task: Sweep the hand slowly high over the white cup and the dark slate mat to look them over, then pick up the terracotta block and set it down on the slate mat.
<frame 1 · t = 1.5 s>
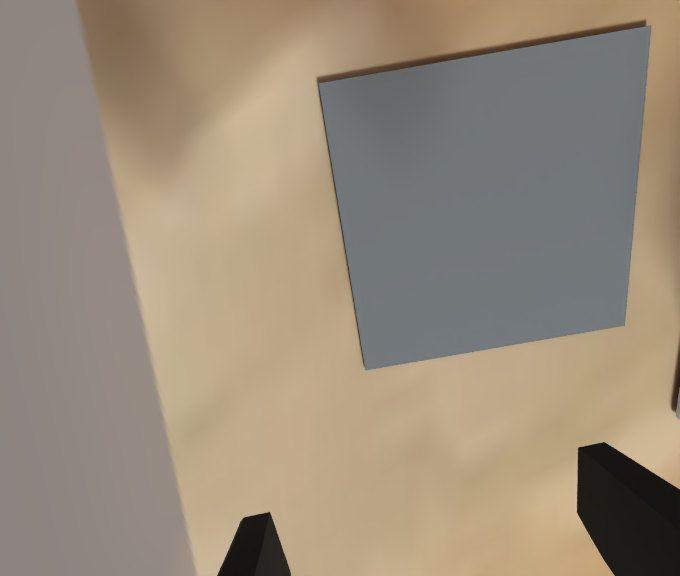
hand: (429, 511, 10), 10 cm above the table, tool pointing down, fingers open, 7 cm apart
slate mat: (488, 218, 17), on the table
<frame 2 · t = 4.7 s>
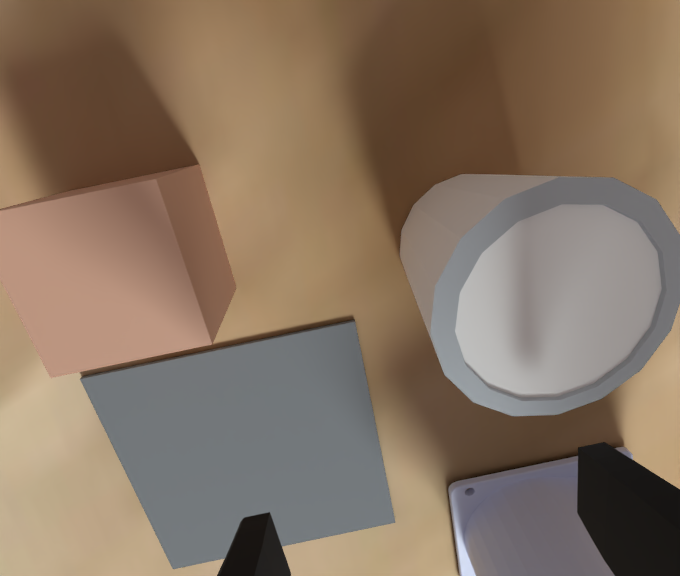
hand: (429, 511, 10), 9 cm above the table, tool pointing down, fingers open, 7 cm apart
terracotta block: (156, 241, 17), on the table
slate mat: (254, 455, 21), on the table
white cup: (464, 241, 18), on the table
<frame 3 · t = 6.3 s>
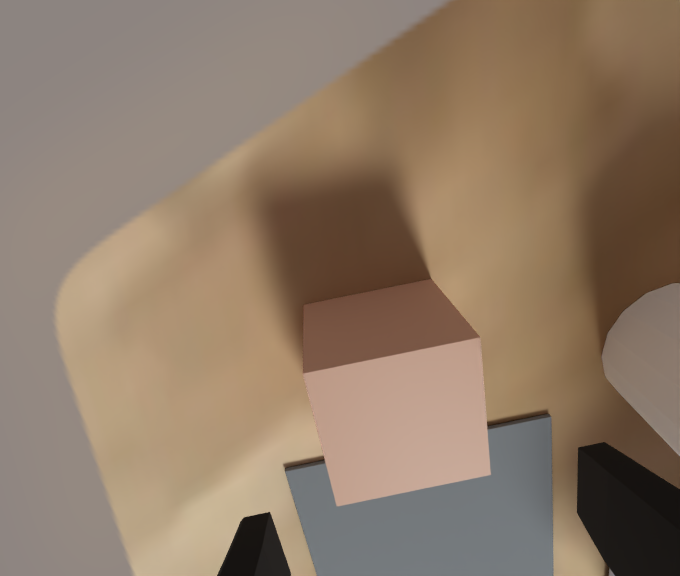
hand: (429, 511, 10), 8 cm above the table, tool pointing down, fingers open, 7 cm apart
terracotta block: (377, 347, 17), on the table
slate mat: (432, 536, 21), on the table
white cup: (662, 341, 18), on the table
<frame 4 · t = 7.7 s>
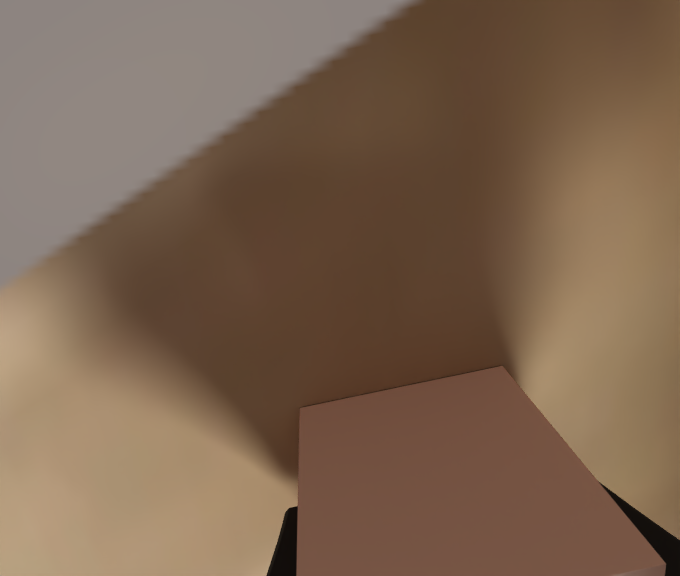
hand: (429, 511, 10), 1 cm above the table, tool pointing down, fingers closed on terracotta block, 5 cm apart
terracotta block: (414, 465, 11), on the table, touching gripper
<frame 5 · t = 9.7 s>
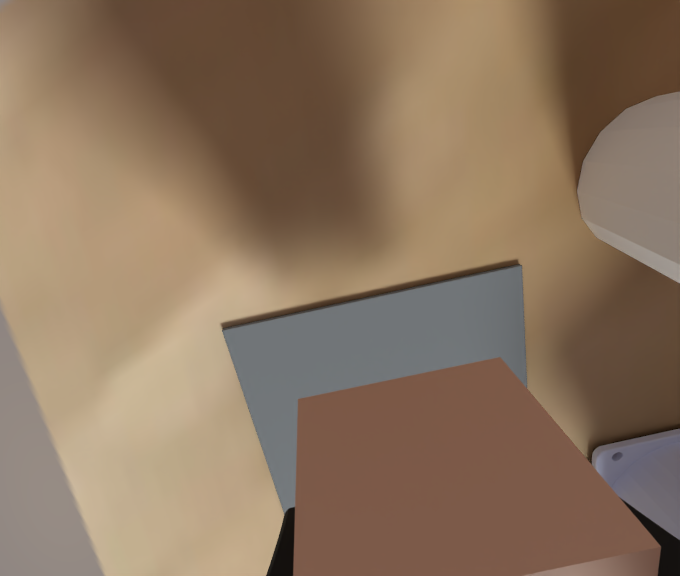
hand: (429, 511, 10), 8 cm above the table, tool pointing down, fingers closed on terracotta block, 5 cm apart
terracotta block: (412, 457, 11), point 7 cm above the table, touching gripper
slate mat: (394, 417, 19), on the table
white cup: (645, 176, 16), on the table
when the fingers open (3 cm above the table, at t = 11.9 s): terracotta block drops 2 cm, resting on slate mat.
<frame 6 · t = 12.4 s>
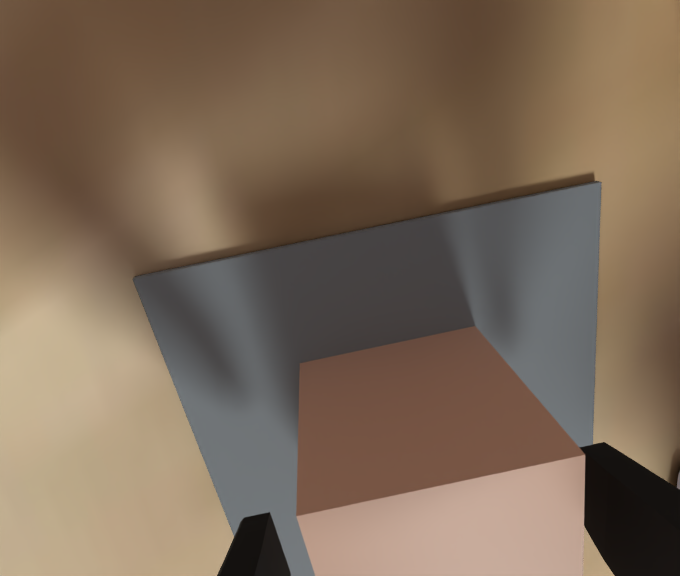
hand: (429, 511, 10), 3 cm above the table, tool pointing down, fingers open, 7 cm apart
terracotta block: (400, 416, 13), resting on slate mat
slate mat: (398, 417, 13), on the table
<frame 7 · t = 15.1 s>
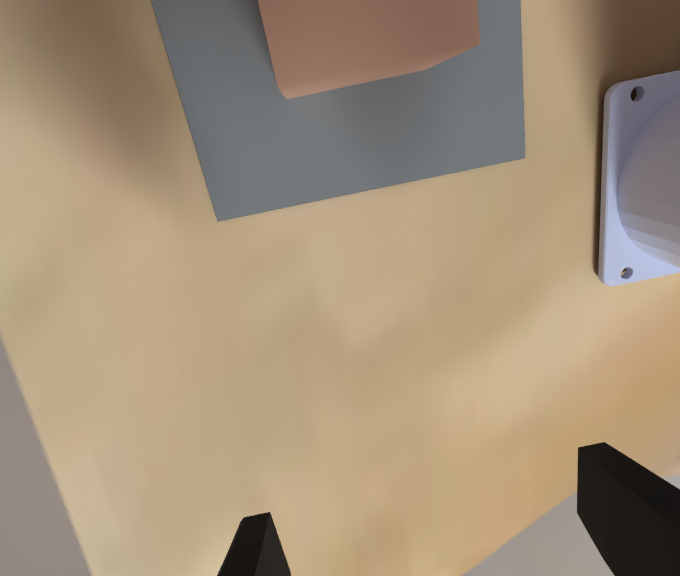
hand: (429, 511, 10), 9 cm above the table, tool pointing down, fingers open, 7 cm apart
terracotta block: (342, 2, 14), resting on slate mat
slate mat: (341, 10, 14), on the table
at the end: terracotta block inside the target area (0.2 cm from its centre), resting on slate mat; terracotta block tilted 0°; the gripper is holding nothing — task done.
